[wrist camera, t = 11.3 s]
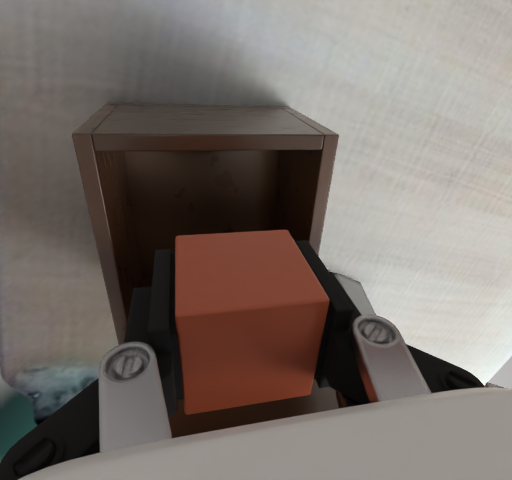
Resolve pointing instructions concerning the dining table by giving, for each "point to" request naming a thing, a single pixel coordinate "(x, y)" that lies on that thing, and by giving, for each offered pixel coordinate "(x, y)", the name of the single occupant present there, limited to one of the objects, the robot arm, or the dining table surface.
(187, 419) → the lid
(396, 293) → the dining table surface
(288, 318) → the block
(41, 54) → the dining table surface
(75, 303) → the dining table surface
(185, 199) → the wooden trinket chest
